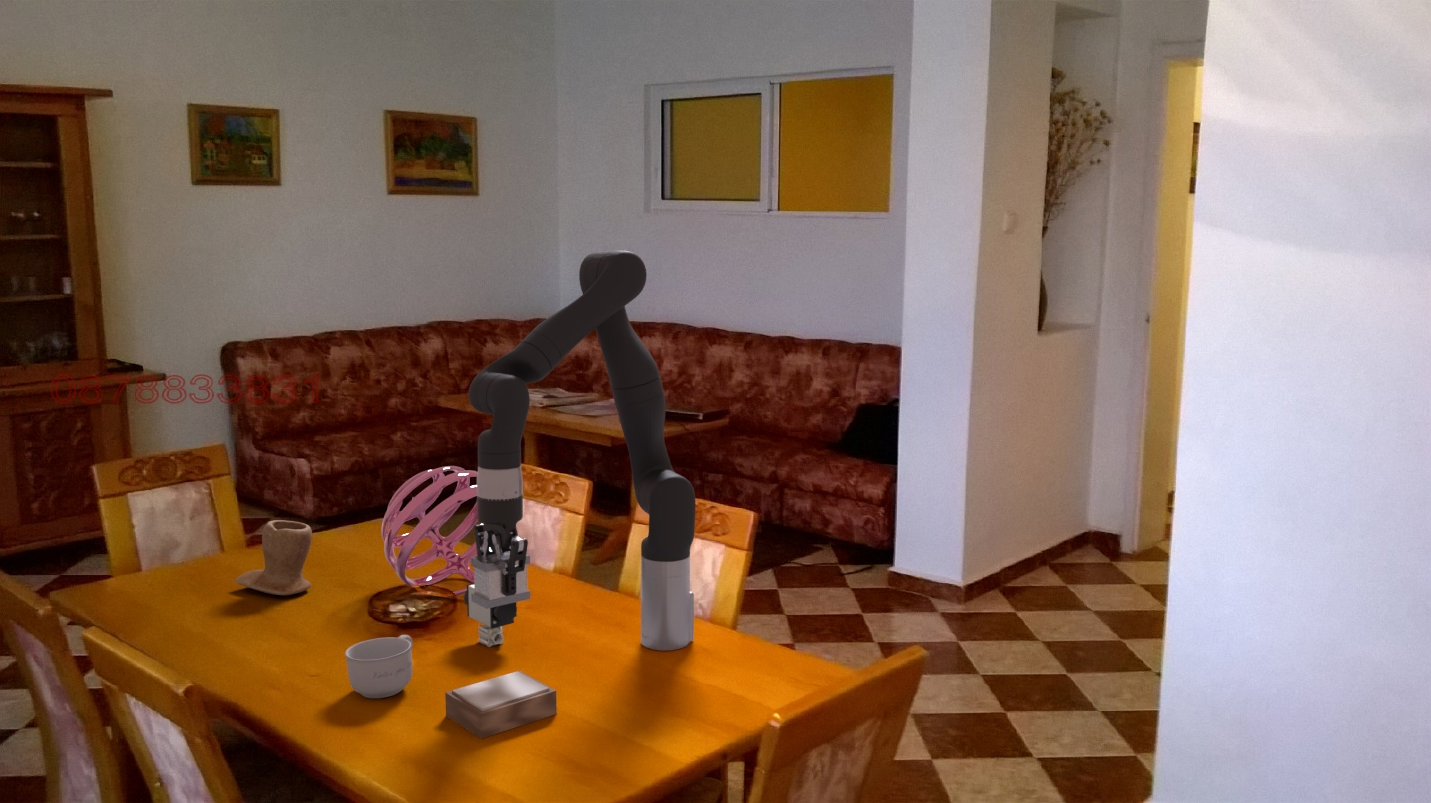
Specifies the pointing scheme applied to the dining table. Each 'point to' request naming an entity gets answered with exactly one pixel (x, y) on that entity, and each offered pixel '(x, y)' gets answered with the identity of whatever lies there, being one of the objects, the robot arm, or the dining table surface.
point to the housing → (496, 582)
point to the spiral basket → (431, 526)
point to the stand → (500, 704)
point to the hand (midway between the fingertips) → (500, 590)
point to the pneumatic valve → (490, 618)
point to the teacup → (380, 666)
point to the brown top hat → (281, 559)
